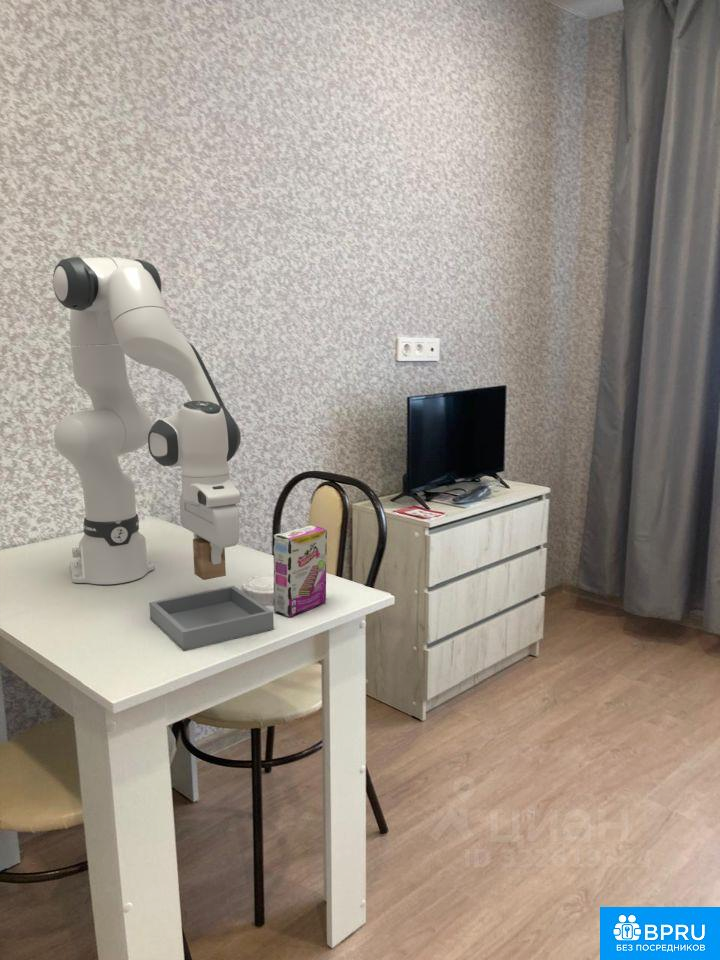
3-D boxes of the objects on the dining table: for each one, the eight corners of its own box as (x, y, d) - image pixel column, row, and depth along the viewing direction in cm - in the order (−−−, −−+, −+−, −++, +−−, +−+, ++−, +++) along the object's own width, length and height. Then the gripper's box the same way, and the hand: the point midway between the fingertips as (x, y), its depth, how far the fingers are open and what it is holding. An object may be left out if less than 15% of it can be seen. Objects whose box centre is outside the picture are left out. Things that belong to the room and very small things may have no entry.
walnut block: (194, 574, 143) (192, 538, 142) (216, 569, 146) (214, 535, 144) (203, 580, 139) (201, 544, 138) (225, 575, 142) (224, 540, 141)
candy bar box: (290, 618, 148) (289, 539, 144) (273, 612, 151) (271, 534, 148) (328, 603, 156) (327, 527, 153) (310, 598, 159) (310, 523, 156)
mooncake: (262, 584, 168) (262, 569, 168) (308, 592, 163) (307, 577, 162) (230, 601, 158) (230, 585, 157) (278, 610, 153) (278, 593, 152)
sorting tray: (150, 619, 147) (149, 602, 146) (234, 601, 157) (233, 585, 156) (183, 650, 132) (182, 632, 132) (273, 629, 142) (273, 611, 141)
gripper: (170, 481, 146) (174, 549, 149) (211, 500, 129) (215, 575, 132) (200, 478, 149) (203, 544, 152) (244, 495, 133) (247, 569, 135)
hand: (209, 559), depth 142 cm, fingers closed on walnut block, 4 cm apart
